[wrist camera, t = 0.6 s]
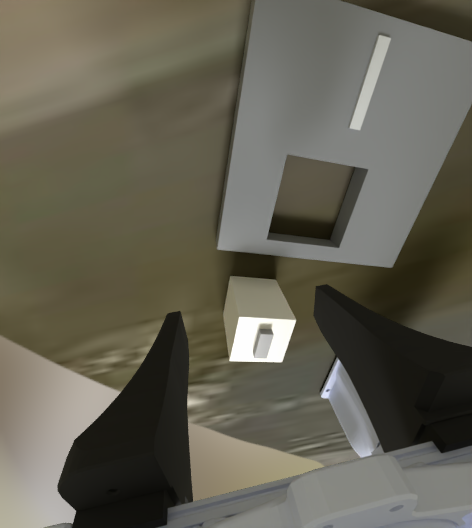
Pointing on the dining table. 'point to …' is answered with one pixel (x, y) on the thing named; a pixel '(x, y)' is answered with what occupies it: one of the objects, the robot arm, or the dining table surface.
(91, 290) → the dining table surface
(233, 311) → the block
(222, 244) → the socket plate
